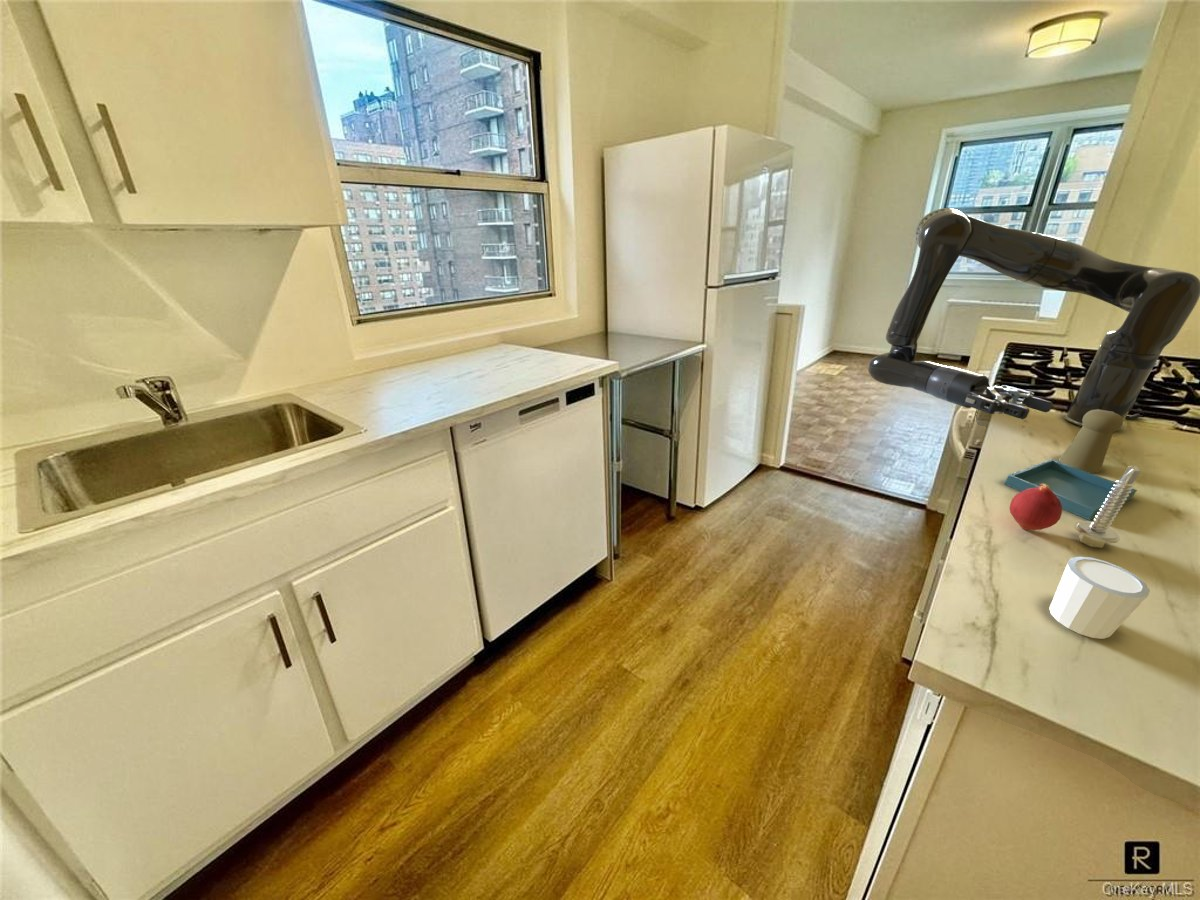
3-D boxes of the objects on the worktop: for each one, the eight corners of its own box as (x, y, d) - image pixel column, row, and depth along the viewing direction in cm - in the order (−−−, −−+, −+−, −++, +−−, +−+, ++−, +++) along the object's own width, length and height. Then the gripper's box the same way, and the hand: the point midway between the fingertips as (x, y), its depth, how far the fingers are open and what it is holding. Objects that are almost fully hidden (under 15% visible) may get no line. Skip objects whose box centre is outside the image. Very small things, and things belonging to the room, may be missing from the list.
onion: (1039, 522, 76) (1062, 478, 72) (1057, 544, 71) (1082, 498, 67) (996, 515, 77) (1016, 472, 74) (1010, 536, 73) (1032, 490, 69)
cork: (1108, 474, 89) (1139, 420, 84) (1071, 470, 90) (1099, 417, 85) (1086, 459, 95) (1114, 407, 90) (1051, 456, 96) (1076, 404, 91)
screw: (1102, 556, 68) (1061, 537, 72) (1119, 547, 70) (1079, 529, 74) (1150, 477, 62) (1103, 461, 66) (1168, 470, 64) (1121, 454, 68)
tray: (1046, 467, 92) (1051, 458, 91) (1131, 499, 82) (1137, 489, 81) (1004, 484, 86) (1008, 475, 85) (1089, 520, 76) (1095, 510, 75)
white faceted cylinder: (1028, 600, 61) (1052, 557, 57) (1078, 597, 61) (1104, 554, 58) (1080, 645, 55) (1111, 599, 51) (1135, 641, 55) (1169, 595, 52)
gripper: (942, 374, 105) (1027, 398, 92) (981, 366, 111) (1066, 388, 98) (931, 406, 108) (1011, 434, 95) (969, 396, 114) (1050, 422, 101)
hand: (1039, 411), depth 97 cm, fingers open, 8 cm apart
